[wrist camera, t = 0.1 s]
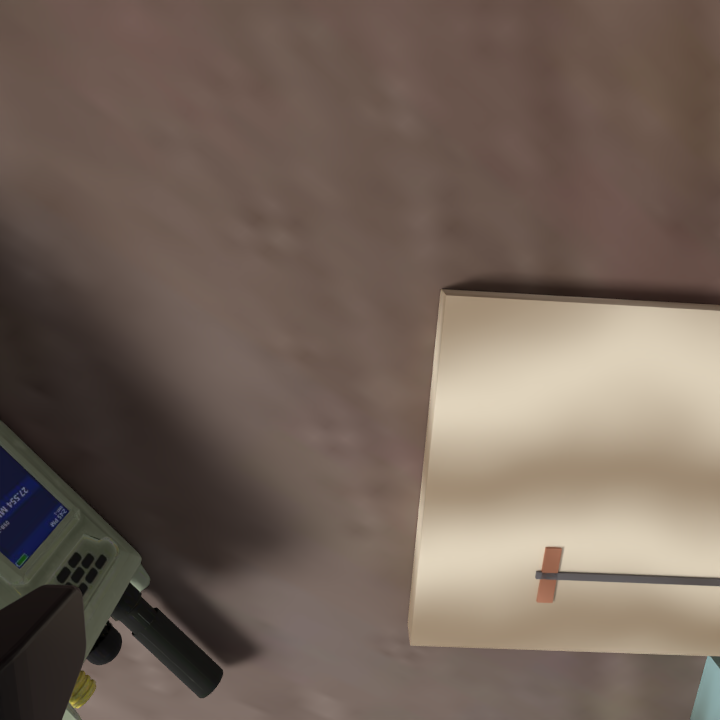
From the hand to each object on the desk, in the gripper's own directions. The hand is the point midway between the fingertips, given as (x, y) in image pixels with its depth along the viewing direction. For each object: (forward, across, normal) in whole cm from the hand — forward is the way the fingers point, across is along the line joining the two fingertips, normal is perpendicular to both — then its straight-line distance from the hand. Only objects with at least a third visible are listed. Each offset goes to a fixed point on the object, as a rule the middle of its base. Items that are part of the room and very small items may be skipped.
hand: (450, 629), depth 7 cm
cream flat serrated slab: (+15, -12, +5) cm, 20 cm away
